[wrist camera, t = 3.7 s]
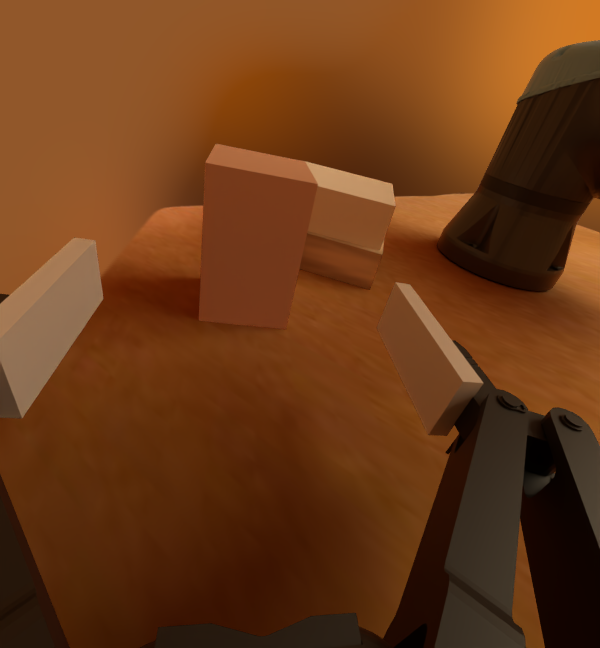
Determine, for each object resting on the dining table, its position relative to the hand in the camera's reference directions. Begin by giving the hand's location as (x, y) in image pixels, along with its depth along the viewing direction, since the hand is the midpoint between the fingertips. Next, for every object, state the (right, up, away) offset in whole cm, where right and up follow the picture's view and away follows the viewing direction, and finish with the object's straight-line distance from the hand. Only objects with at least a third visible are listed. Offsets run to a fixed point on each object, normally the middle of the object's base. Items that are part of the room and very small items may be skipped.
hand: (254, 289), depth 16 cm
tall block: (-2, 0, +11) cm, 11 cm away
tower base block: (+5, +6, +22) cm, 23 cm away
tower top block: (+5, +9, +20) cm, 22 cm away
